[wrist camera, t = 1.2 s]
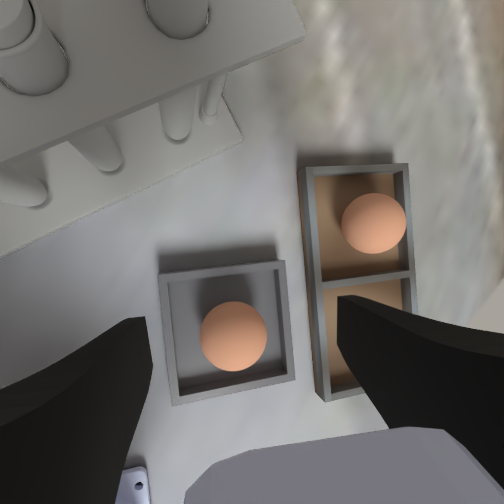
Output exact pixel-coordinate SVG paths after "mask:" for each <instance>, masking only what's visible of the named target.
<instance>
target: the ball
mask: <svg viewBox="0 0 504 504" xmlns="http://www.w3.org/2000/svg"><path fill="white" fill-rule="evenodd" d="M341 228H342V233H343V235H344V237H345V239H346V241H347V242H348V243H349V244H350V245H351V246H352V247H353V248H355V249H356V250H358V251H361V252H364V253H369V254H376V253H382V252H385V251H387V250H389V249H391V248H393V247H394V246H395V245H396V244H397V243H398V242H399V241H400V240H401V238H402V237H403V235H404V232H405V229H406V216H405V213H404V210H403V208H402V207H401V205H400V204H399V203H398V202H397V201H396V200H395V199H393V198H392V197H390V196H388V195H384V194H380V193H370V194H365V195H362V196H360V197H358V198H356V199H355V200H353V201H352V202H351V203H350V204H349V205H348V206H347V208H346V209H345V211H344V213H343V216H342V221H341Z"/></svg>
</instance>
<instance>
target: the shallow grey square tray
mask: <svg viewBox="0 0 504 504" xmlns="http://www.w3.org/2000/svg"><path fill="white" fill-rule="evenodd" d="M158 283H159V293H160V302H161V311H162V320H163V330H164V339H165V348H166V358H167V367H168V376H169V386H170V395H171V404H172V406H177V405H181V404H186V403H191V402H195V401H200V400H204V399H209V398H214V397H218V396H223V395H228V394H232V393H237V392H242V391H246V390H251V389H256V388H260V387H265V386H270V385H274V384H279V383H284V382H288V381H293V380H295V370H294V358H293V347H292V335H291V324H290V312H289V301H288V289H287V278H286V266H285V260H278V259H277V260H268V261H259V262H251V263H242V264H233V265H224V266H215V267H206V268H197V269H188V270H179V271H170V272H162V273H159V274H158ZM232 301H237V302H243V303H245V304H248V305H250V306H251V307H253V308H254V309H255V310H256V311H257V312H258V313H259V314H260V315H261V317H262V318H263V320H264V322H265V326H266V329H267V342H266V346H265V349H264V351H263V353H262V355H261V356H260V358H259V359H258V360H257V361H256V362H255V363H254V364H253V365H251V366H250V367H248V368H246V369H243V370H240V371H226V370H222V369H220V368H218V367H216V366H214V365H213V364H212V363H211V362H210V361H209V360H208V359H207V358H206V357H205V355H204V353H203V351H202V348H201V345H200V329H201V325H202V322H203V321H204V319H205V317H206V316H207V314H208V313H209V312H210V311H211V310H212V309H213V308H215V307H216V306H218V305H220V304H222V303H225V302H232Z"/></svg>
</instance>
